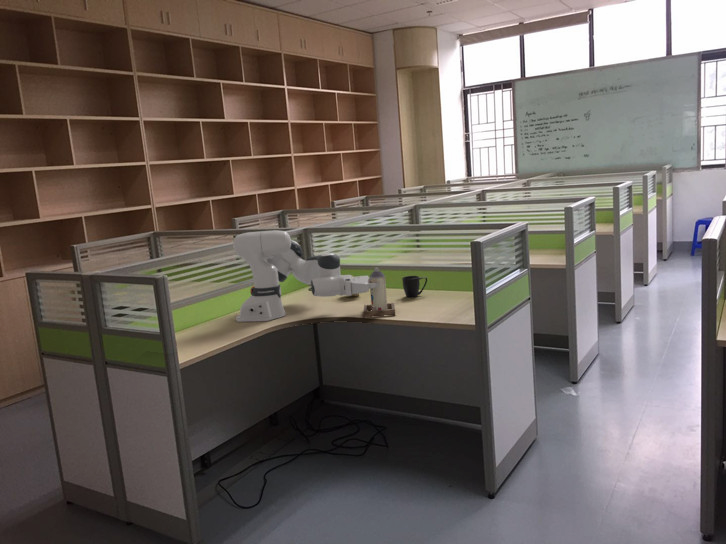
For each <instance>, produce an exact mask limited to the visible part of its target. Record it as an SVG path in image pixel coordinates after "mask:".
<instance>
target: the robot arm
mask: <svg viewBox="0 0 726 544" xmlns="http://www.w3.org/2000/svg"><path fill="white" fill-rule="evenodd" d="M232 247H233V251H234V253H235V254H236V255H237V256H238V257H239V258H242V259H243V260H244V261H245V262H246V263H247V265H248V266H249V267H250V270H251V274H252V278H253V285H252V286H251V287H250V296H249V297H248V298H247V299H246V300H245V301H244V302H243V303H242V304H241V306H240V308H239V309H240V310H239V311H240V312H239V314H237V316H236V317H235V321H236V322H237V323H238V322H239V323H240V322H241V323H245V322H246V323H247V322H249V323H250V322H269V321H272V320H275V319H276V320H277V319H279V318H282V317H284V316H286V311H285V308H284V305H283V301H282V288H281V284H280V283H284V282H285V281H286V280H287V278H288V277H289V275H290V274H291V272H292V276H293V277H294V278H295V279H296V280H297V281H299V282H300V283H302V284H303V285H309V286H310V288H311V294H312V295H313V297H327V298H328V297H334V296H346V295H347V296H349V297H352V296H351V295H352V294H359V295H360V294H364V293H367V292H370V288H375V287H379V286H380V284H379V282H376V283H370V279H369V277H370V275H359V276H358V275H357V276H354V277H351V275H352V274H342V273H341V258H340V256H338V255H337V253H333V252H332V253H330V252H327V253H324V254H323V253H322V254H318V255H312V256H308V257H307V258H306V259H303V257H305V255H304V254H303V248H302V246H301V245H300V244H299V243H298V242H297V241H296V240H293V239H292V238H291V236H290V234H289V233H288V232H287V231H285V230H276V229H275V230H263V231H261V230H260V231H249V232H243V233H241V234H237V235H236V236H235V237H234V239H233V243H232ZM347 296H346V297H347Z"/></svg>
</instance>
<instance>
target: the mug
mask: <svg viewBox="0 0 726 544" xmlns="http://www.w3.org/2000/svg"><path fill="white" fill-rule="evenodd" d="M422 279H425V281H424V283H423V284H424V285H423V286H422V288H421V290H420V285H421V284H420V280H422ZM401 281H402V287H403V291H404V294H405V297H406V298H409V299H410V298H411V299H412V298H413V297H414V298H417V297H418V296H420V295H421V294H422V293H423V291H424V289H425V287H426V285H427V282H428V278H427V277H426V276H423V277H420V276H419V275H407V276H403V277H402V280H401Z"/></svg>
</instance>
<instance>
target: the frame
mask: <svg viewBox="0 0 726 544" xmlns="http://www.w3.org/2000/svg"><path fill="white" fill-rule="evenodd" d="M387 309H388V310H375V311H367V310H372V304H364V305H363V317H366V318H373V317H372V316H380V317H385V316H384V315H393V316H396V306H395V302H389V303H388V302H387Z"/></svg>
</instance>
